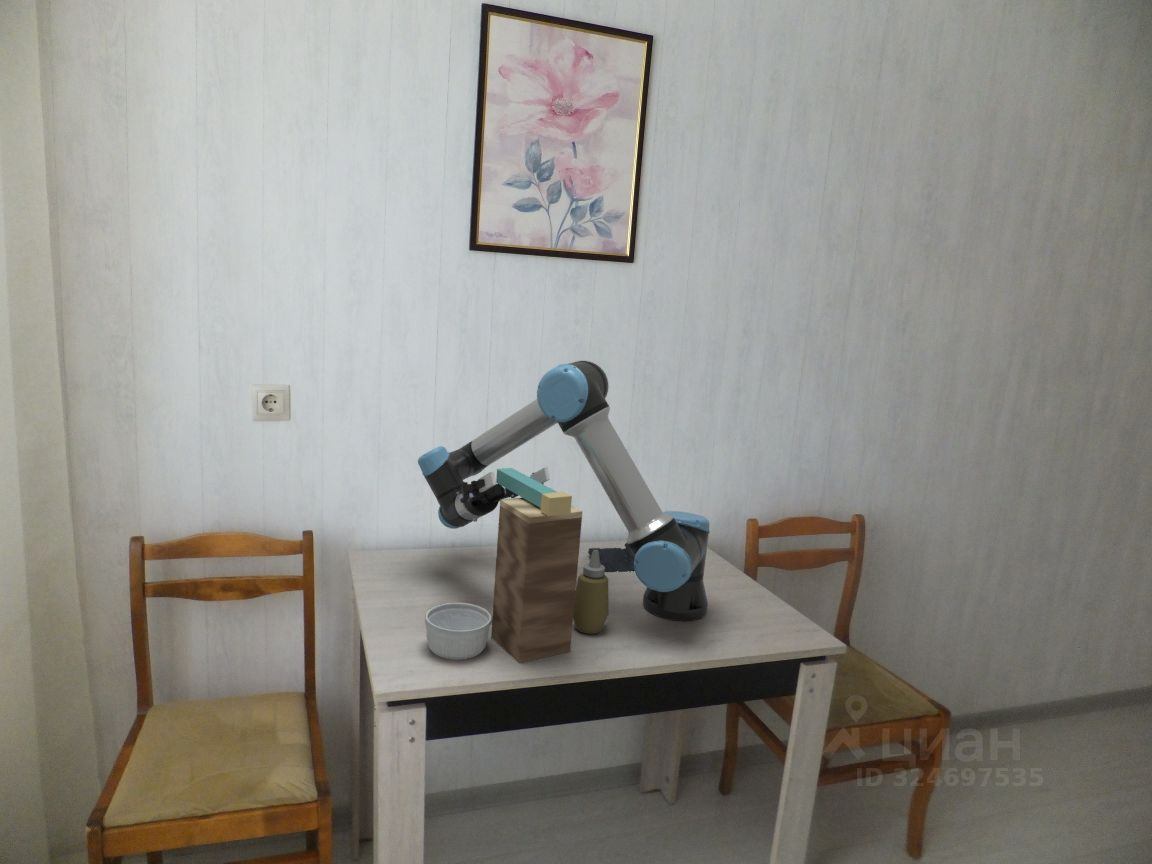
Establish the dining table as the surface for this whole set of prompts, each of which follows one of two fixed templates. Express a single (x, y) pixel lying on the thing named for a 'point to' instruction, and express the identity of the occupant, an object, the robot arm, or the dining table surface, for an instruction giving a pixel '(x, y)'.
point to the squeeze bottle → (591, 597)
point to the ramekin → (457, 630)
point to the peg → (535, 492)
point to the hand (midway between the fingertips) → (520, 475)
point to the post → (535, 580)
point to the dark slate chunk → (616, 559)
